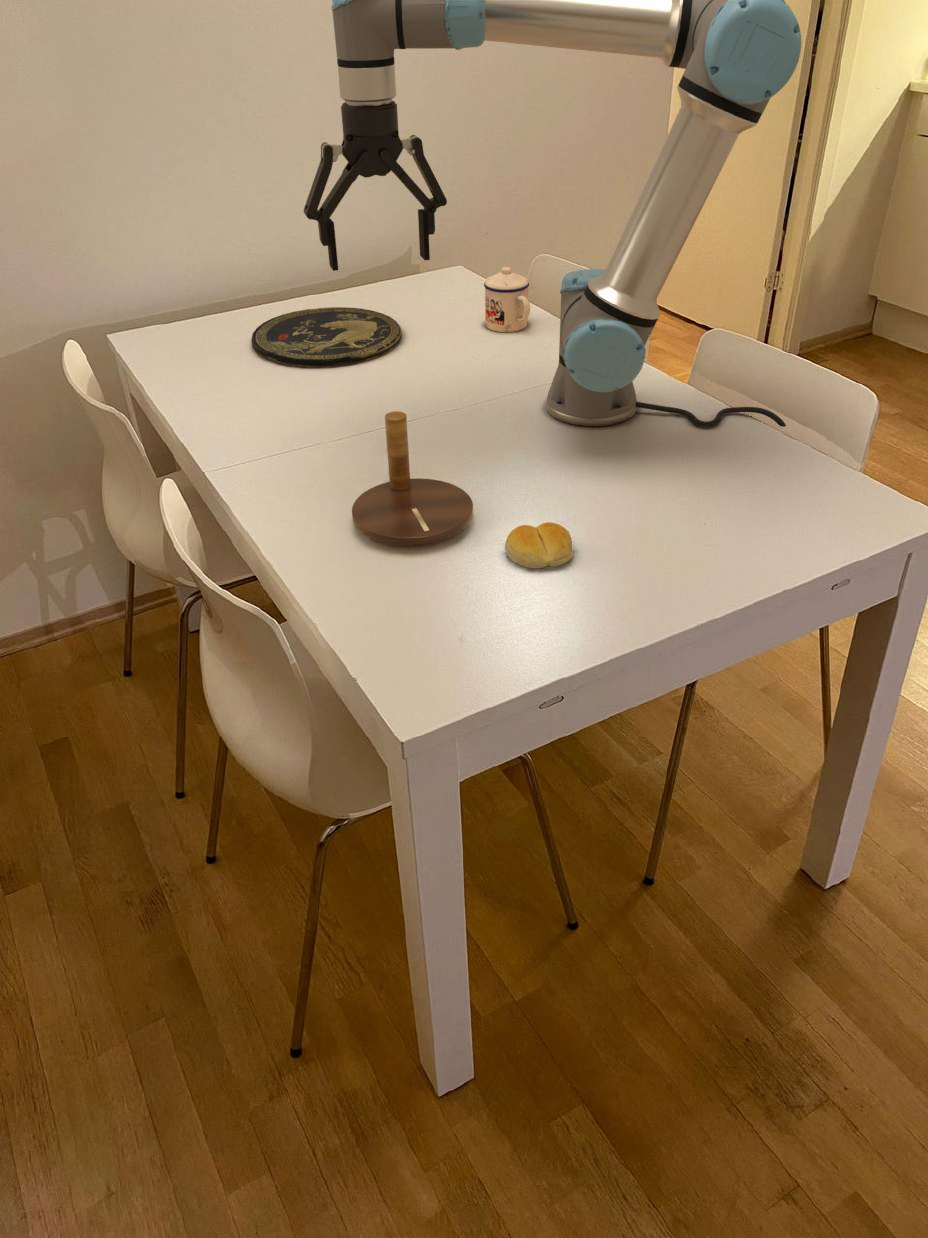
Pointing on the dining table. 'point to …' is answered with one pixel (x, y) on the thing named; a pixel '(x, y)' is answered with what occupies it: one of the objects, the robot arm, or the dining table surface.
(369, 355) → the decorative plate
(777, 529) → the dining table surface
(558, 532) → the bread roll
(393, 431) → the turntable
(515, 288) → the teacup with lid
